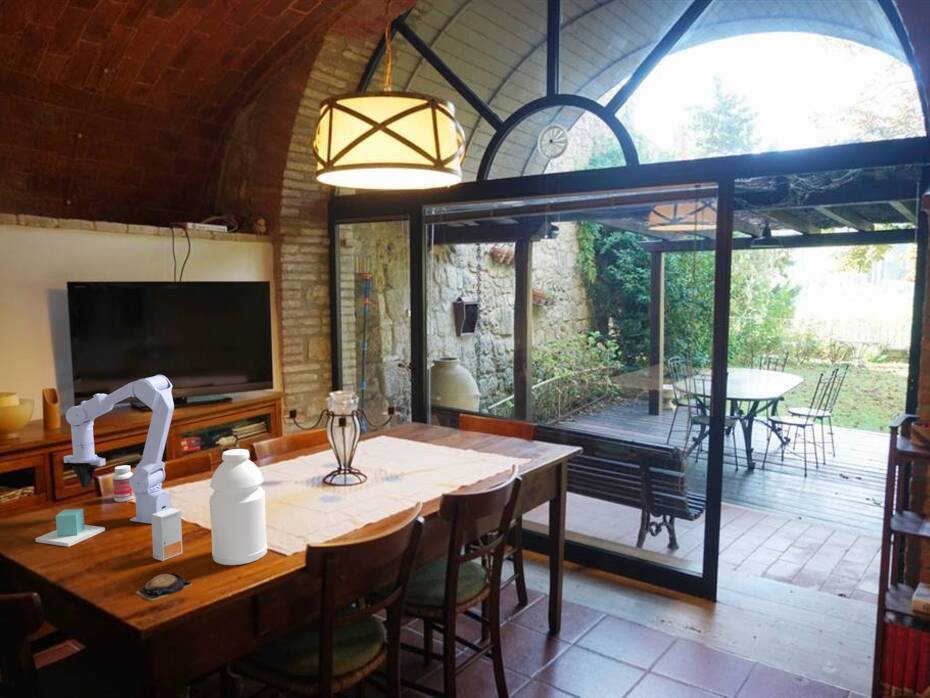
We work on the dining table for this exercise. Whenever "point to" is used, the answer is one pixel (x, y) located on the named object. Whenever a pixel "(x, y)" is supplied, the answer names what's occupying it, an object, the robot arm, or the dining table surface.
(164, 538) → the skincare box
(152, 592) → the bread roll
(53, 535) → the post base
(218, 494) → the bottle
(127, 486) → the pill bottle
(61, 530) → the teal toy cube
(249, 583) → the dining table surface
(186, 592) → the dining table surface
